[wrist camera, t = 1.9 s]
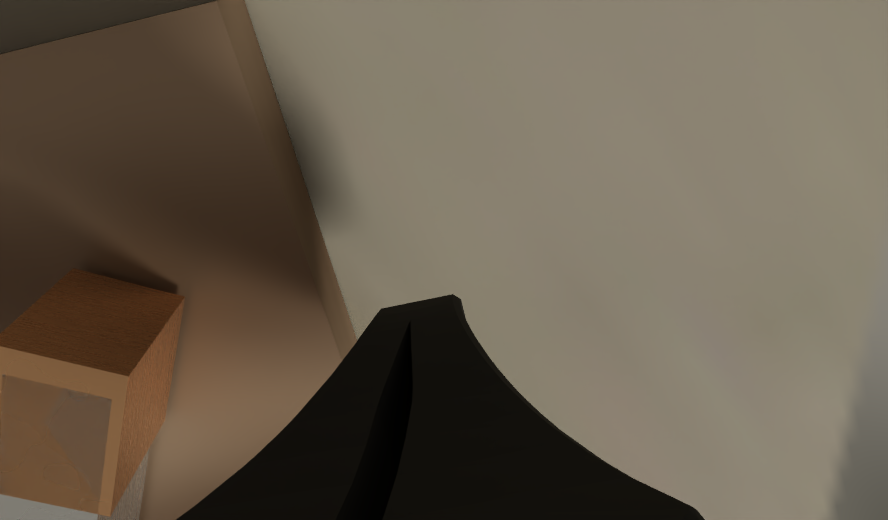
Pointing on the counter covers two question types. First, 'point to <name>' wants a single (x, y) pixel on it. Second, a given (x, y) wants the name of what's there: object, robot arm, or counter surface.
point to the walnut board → (175, 223)
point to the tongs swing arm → (84, 398)
